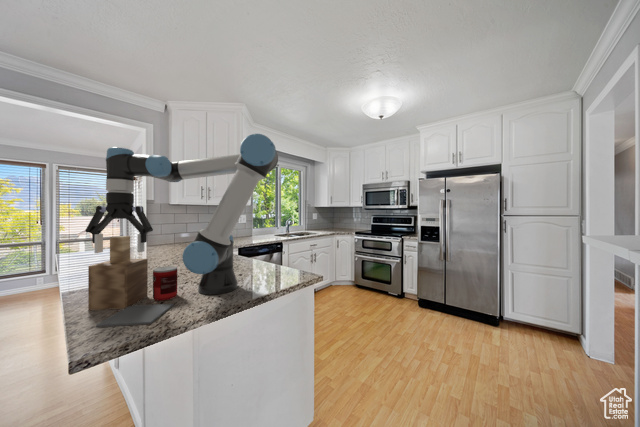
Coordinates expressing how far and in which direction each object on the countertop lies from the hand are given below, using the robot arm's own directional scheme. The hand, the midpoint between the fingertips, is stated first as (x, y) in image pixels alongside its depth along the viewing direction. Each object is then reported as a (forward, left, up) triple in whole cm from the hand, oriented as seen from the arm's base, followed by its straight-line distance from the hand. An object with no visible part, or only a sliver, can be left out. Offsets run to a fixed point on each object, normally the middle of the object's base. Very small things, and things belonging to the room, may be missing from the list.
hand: (120, 252), depth 85 cm
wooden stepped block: (0, 0, -18) cm, 18 cm away
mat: (-13, +12, -18) cm, 25 cm away
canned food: (-13, -4, -18) cm, 23 cm away
